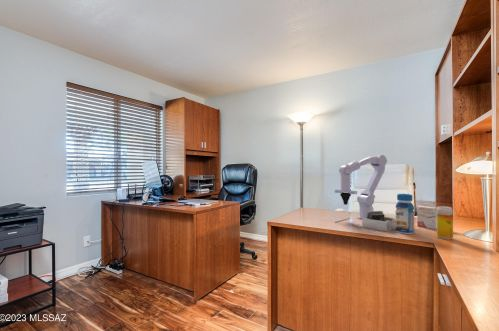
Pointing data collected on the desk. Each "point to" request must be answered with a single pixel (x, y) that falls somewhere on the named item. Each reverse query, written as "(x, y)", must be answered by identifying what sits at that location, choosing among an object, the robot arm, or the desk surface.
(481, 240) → the desk surface
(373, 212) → the electrical switch
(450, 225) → the white lidded yellow container
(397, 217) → the blue pill bottle
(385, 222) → the bracket
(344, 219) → the long thin gray rod
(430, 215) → the ink cartridge box
